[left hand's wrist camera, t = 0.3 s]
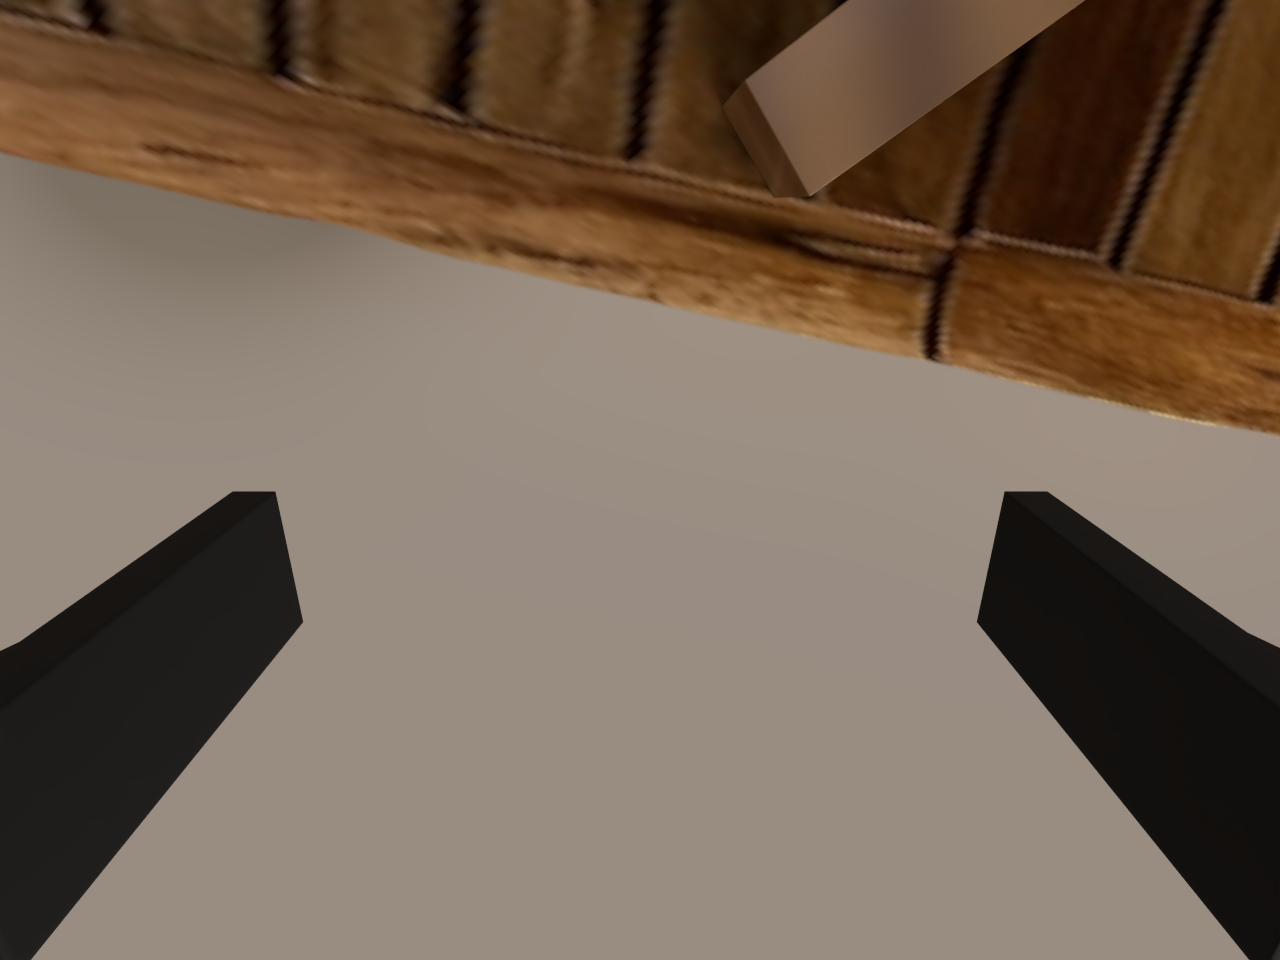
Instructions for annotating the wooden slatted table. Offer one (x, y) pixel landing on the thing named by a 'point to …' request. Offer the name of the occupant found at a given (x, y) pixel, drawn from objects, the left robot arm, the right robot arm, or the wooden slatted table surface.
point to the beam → (870, 80)
